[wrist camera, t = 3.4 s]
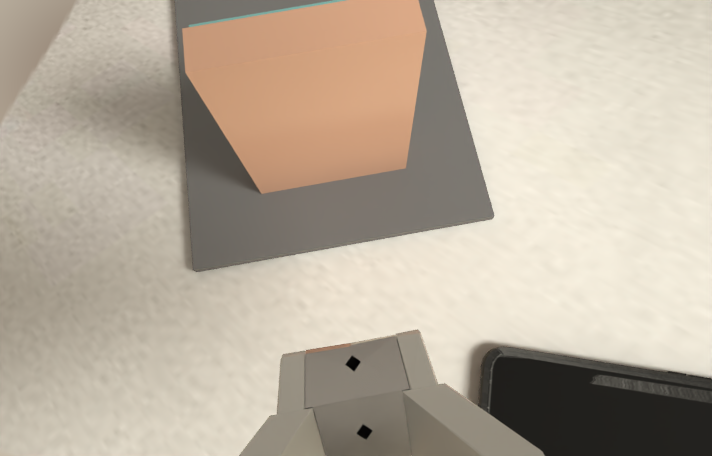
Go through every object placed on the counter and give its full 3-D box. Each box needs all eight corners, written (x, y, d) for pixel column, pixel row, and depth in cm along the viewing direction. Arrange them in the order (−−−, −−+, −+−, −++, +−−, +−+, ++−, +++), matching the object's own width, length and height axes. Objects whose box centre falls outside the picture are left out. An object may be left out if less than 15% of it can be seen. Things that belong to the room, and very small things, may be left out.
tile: (405, 168, 29) (426, 30, 17) (261, 193, 28) (185, 72, 17) (398, 135, 29) (413, -18, 18) (257, 160, 29) (181, 22, 18)
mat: (492, 219, 28) (494, 215, 27) (196, 272, 28) (193, 269, 27) (415, -56, 35) (415, -63, 34) (176, -16, 34) (173, -22, 34)
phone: (797, 564, 22) (473, 503, 23) (777, 555, 23) (469, 497, 24) (780, 388, 24) (486, 341, 25) (762, 387, 25) (481, 342, 26)
